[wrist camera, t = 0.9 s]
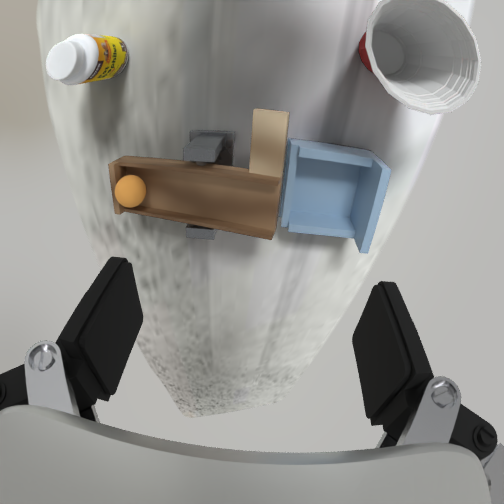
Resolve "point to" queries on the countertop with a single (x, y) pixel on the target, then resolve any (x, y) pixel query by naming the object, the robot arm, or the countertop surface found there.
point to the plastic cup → (422, 54)
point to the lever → (215, 184)
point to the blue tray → (333, 191)
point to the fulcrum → (213, 152)
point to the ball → (130, 191)
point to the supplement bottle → (86, 59)
